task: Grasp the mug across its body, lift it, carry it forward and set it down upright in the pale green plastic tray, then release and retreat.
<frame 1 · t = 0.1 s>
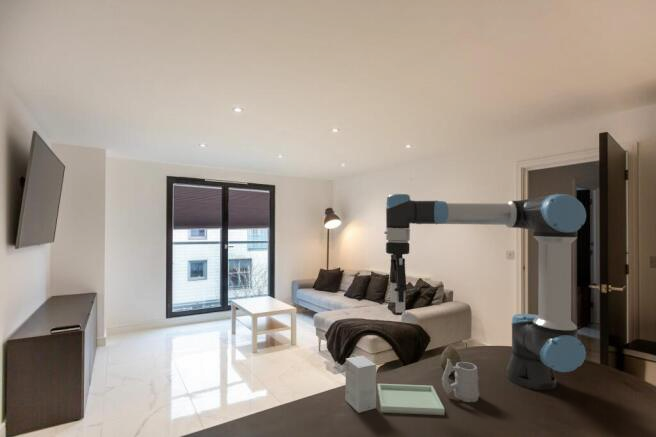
hand: (397, 306, 111), 28 cm above the table, fingers open, 13 cm apart
tray: (408, 401, 105), on the table
mug: (460, 397, 108), on the table
small box: (360, 405, 103), on the table
decorative egg: (450, 374, 125), on the table
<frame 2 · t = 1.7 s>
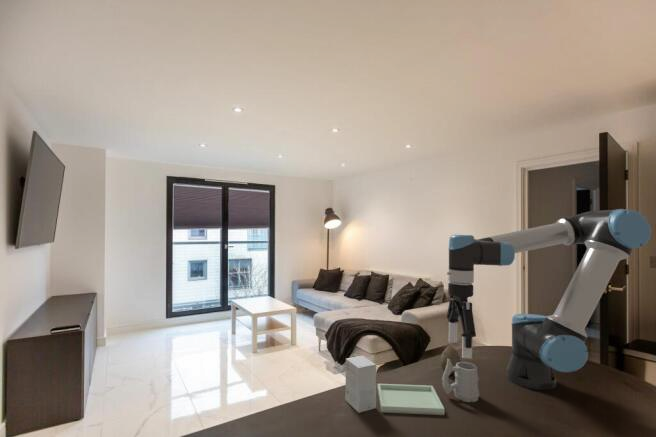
hand: (459, 349, 109), 15 cm above the table, fingers open, 13 cm apart
nothing on the table moved.
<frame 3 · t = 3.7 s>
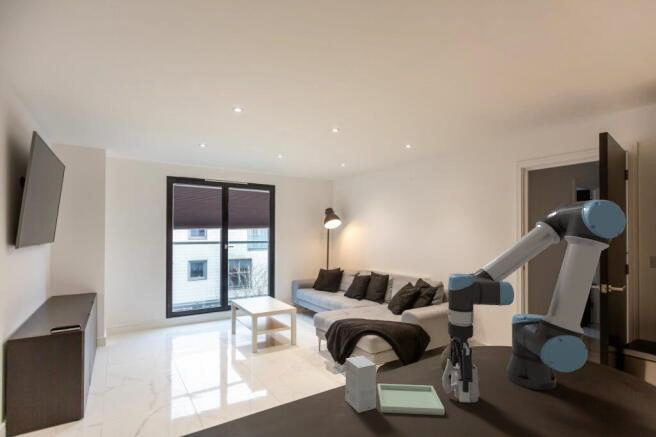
hand: (460, 394, 109), 1 cm above the table, fingers closed on mug, 7 cm apart
mug: (460, 397, 108), on the table, touching gripper
everything else where it was.
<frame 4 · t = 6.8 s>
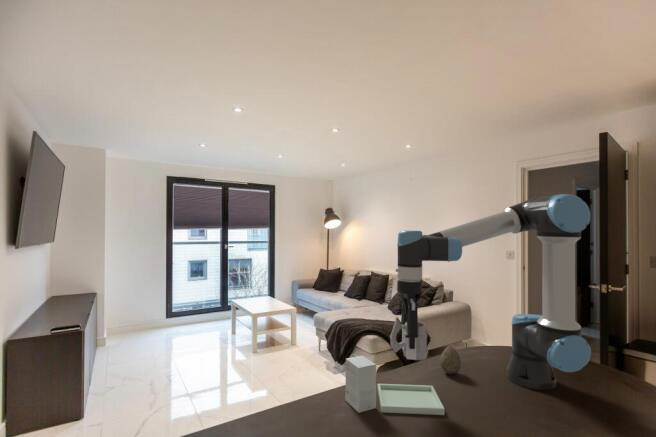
hand: (408, 353, 106), 15 cm above the table, fingers closed on mug, 7 cm apart
mug: (408, 356, 105), point 14 cm above the table, touching gripper
everything else where it was.
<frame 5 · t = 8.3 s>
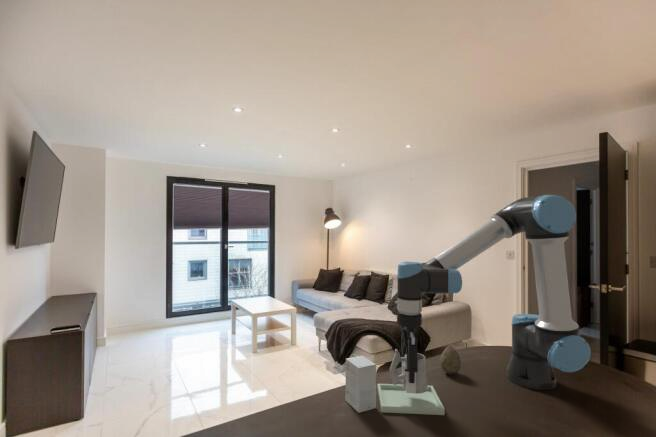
hand: (408, 385, 105), 5 cm above the table, fingers closed on mug, 7 cm apart
mug: (408, 389, 105), point 4 cm above the table, touching gripper
everything else where it was.
when the fingers open (2 cm above the table, at t = 9.7 s): mug stays where it is, resting on tray.
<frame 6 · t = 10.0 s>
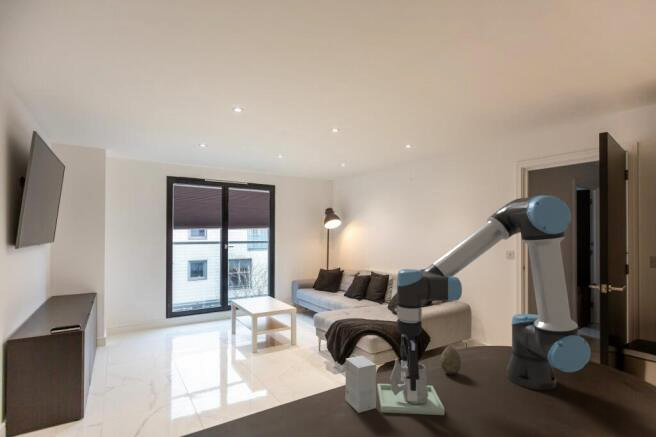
hand: (408, 390, 105), 3 cm above the table, fingers open, 11 cm apart
mug: (408, 399, 105), point 1 cm above the table, touching tray
everything else where it was.
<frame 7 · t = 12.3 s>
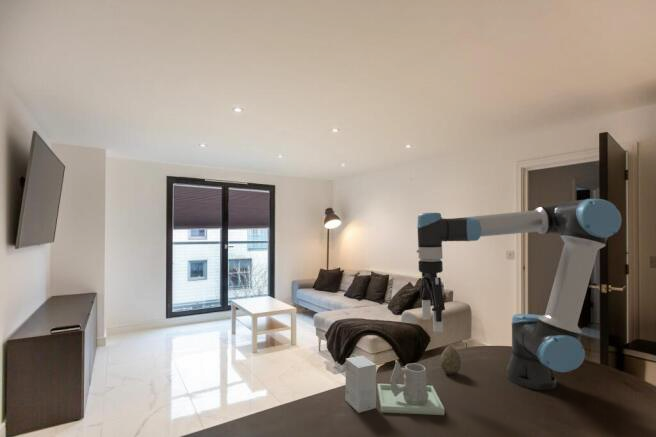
hand: (432, 325, 111), 22 cm above the table, fingers open, 13 cm apart
nothing on the table moved.
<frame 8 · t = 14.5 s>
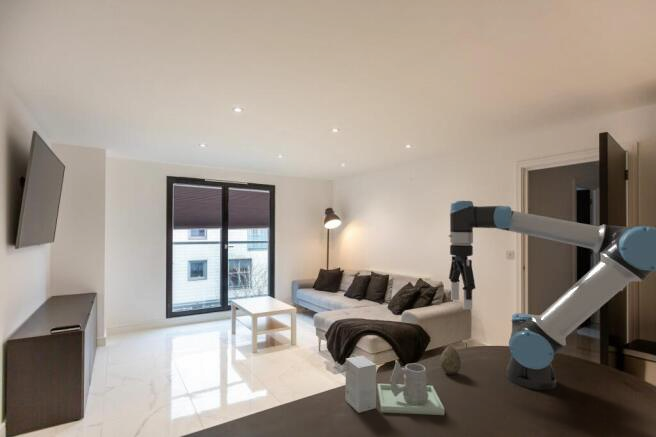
hand: (460, 304, 121), 27 cm above the table, fingers open, 13 cm apart
nothing on the table moved.
at the end: mug inside the target area on the tray (0.3 cm from its centre), point 0.4 cm above the tray's base; mug tilted 0°; the gripper is holding nothing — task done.
